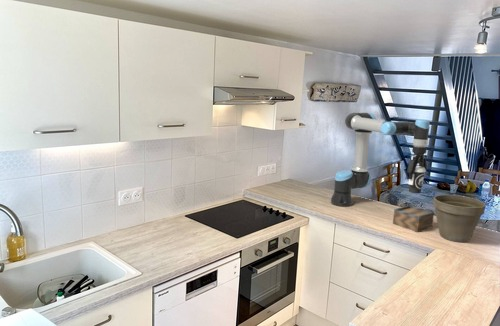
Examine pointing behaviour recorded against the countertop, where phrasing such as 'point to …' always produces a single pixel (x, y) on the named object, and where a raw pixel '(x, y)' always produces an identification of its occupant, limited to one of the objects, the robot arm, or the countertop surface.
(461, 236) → the plant pot
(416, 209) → the wooden box
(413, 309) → the countertop surface
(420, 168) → the coffee cup
